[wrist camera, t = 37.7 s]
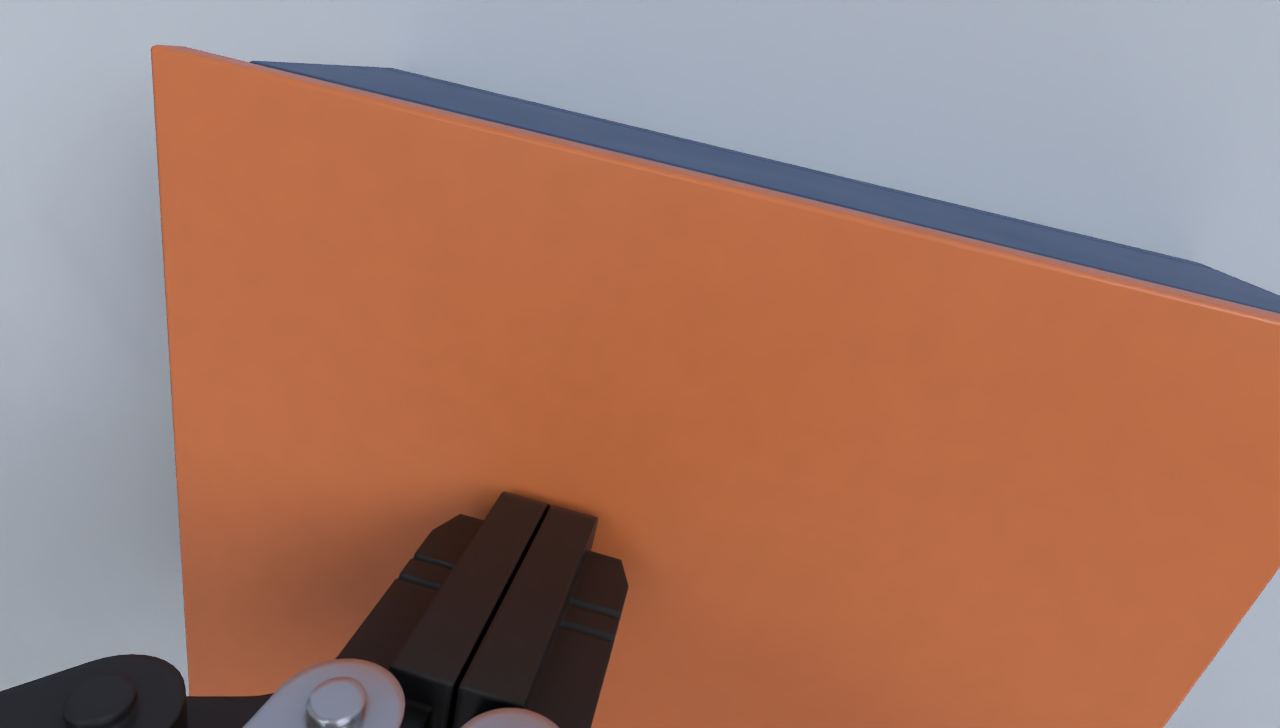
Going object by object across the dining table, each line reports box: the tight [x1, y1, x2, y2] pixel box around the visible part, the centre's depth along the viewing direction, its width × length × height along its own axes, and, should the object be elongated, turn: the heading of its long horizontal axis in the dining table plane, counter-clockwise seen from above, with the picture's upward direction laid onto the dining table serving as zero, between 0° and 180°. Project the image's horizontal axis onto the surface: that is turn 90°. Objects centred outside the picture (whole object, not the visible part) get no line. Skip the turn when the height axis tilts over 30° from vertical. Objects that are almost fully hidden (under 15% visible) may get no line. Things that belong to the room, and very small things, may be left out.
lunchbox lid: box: [151, 45, 1280, 728], centre depth 11 cm, size 16×12×1 cm
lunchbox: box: [249, 61, 1280, 314], centre depth 13 cm, size 15×12×4 cm
